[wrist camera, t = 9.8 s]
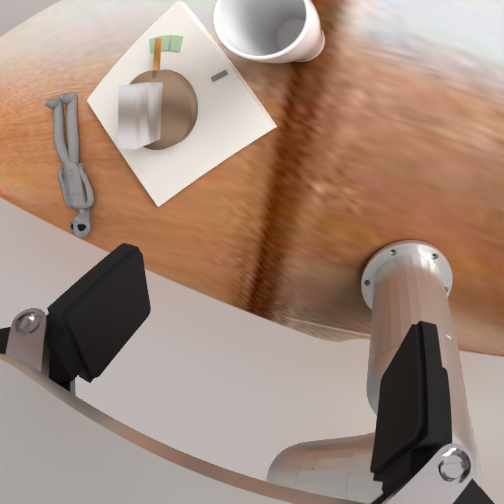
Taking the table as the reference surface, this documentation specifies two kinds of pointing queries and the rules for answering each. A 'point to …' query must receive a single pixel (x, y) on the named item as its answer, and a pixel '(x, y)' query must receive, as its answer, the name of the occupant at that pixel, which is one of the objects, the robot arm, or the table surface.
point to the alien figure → (72, 163)
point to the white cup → (269, 29)
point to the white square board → (208, 97)
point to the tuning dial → (156, 108)
